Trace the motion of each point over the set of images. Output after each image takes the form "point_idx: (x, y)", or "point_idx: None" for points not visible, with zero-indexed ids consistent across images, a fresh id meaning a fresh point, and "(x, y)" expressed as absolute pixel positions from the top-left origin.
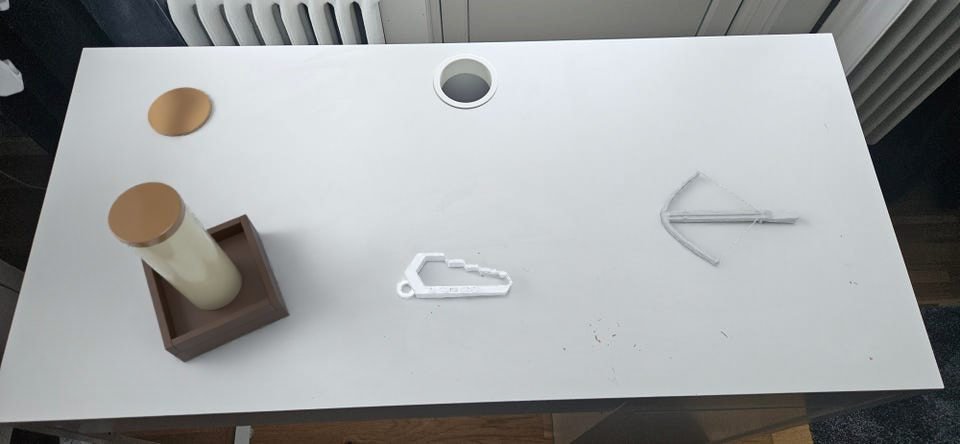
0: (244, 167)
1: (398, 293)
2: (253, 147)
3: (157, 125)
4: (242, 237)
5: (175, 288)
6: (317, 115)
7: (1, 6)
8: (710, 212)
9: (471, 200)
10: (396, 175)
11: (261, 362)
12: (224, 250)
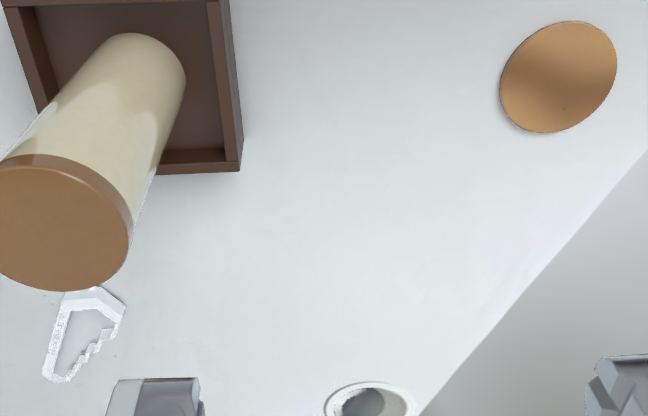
0: (377, 149)
1: None
2: (409, 170)
3: (550, 37)
4: (217, 138)
5: (79, 69)
6: (416, 261)
7: (595, 400)
8: None
9: (192, 369)
10: (264, 315)
11: (8, 91)
12: (201, 108)
